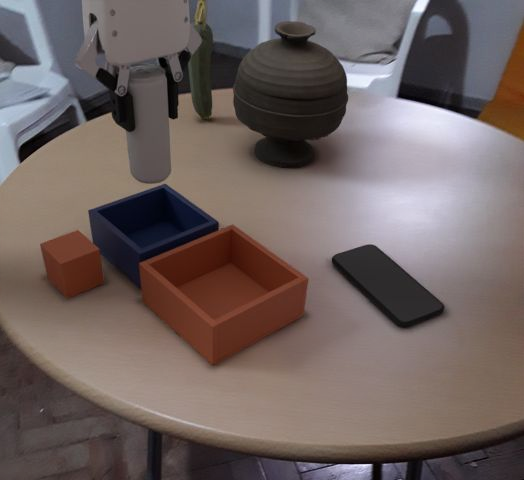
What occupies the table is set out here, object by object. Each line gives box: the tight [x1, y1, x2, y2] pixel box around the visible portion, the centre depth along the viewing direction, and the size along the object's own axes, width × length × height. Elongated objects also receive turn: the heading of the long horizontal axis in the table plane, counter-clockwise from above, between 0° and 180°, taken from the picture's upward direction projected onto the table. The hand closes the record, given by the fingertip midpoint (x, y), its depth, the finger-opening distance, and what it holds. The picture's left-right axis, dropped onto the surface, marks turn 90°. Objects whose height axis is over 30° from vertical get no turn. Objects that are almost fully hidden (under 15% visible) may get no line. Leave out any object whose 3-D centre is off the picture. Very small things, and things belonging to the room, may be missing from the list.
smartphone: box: [331, 243, 445, 328], centre depth 79 cm, size 7×1×15 cm
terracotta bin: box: [139, 224, 309, 366], centre depth 73 cm, size 14×14×6 cm
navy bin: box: [87, 183, 220, 292], centre depth 80 cm, size 12×12×6 cm
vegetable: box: [187, 0, 214, 120], centre depth 105 cm, size 4×4×20 cm
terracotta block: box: [39, 229, 105, 299], centre depth 75 cm, size 5×5×5 cm
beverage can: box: [125, 62, 172, 185], centre depth 70 cm, size 5×5×12 cm
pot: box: [232, 20, 349, 169], centre depth 97 cm, size 18×18×20 cm
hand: (146, 119), depth 69 cm, fingers closed on beverage can, 4 cm apart
